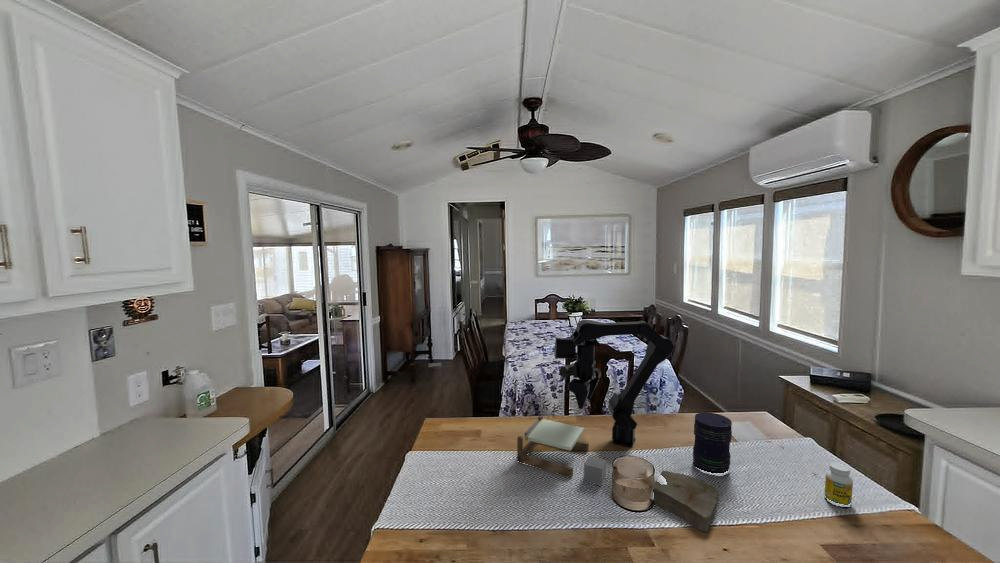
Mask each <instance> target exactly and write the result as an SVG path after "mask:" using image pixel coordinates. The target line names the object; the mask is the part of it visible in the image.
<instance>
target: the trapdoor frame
mask: <svg viewBox="0 0 1000 563" xmlns="http://www.w3.org/2000/svg"><path fill="white" fill-rule="evenodd" d="M542 419H544V418H543V416H542V415H538V417H537V420H539V421H541V420H542ZM523 440H524V439H523V436H522V435H518V436H517V442H516V443H517V444H516V445H517V446H516V447H517V451H516V452H517V454H516V455H517V456H516V457H517V460H516V461H519V462H521V463H525V464H528V465H531V466H534V467H533V468H535V467H538V468H537V469H539V468H541V469H540V470H542V469H544V470H543V471H546V470H547V471H546V472H549V471H551V472H550V473H553V472H554V473H553V474H556V473H558V474H557V475H560V474H561V476H563V475H564V477H567V476H569V477H568V478H571V477H572V478H573V476H574V467H573V466H569V465H565V464H563V463H558V462H554V461H550V460H547V459H543V458H539V457H536V456H532V455H530V454H531V453H532V452H533V450H535V448H536V447H538V445H539V444H540V443H537V442H533V441H528V443H527V444H526V445H525V446H524V445H523V444H524V443H523V442H524V441H523ZM523 446H524V447H523ZM589 446H590V445H589V442H587V441H582V440H579V439H578V441H577V442H576V444H575V445H574V447H573V448H572V449H574V450H578V451H583V452H585V453H587V452H589V450H590V448H589ZM531 451H532V452H531ZM530 452H531V453H530ZM528 453H530V454H529V455H527V454H528ZM521 463H520V464H521ZM528 465H527V466H528ZM531 466H530V467H531Z"/></svg>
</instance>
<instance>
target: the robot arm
mask: <svg viewBox="0 0 1000 563" xmlns="http://www.w3.org/2000/svg"><path fill="white" fill-rule="evenodd" d="M631 335H632V336H633V335H641V336H642V337H643V338H644V339H646V341H647V342H648V343H647V345H646V348H645V349H646V350H645V355H644V358H643V359H642V361H640V364H639V366H637V368H636V370H635V371H634V373H633V375H632V376H631V378H630V379H629V381H628V382H627V384H626V385H625V387H624V389H623V390H622V391H621V392H619V393H618V394H617V392H614V393H613V394H612V397H610V400H608V405H607V410H608V412H609V414H610V415H611V417H612V419H613V420H614V423H613V426H612V428H611V429H612V430H611V433H612V434H611V435H612V436H611V437H612V442H611V443H612V444H616V445H619V446H625V447H629V448H633V447H634V444H635V442H636V437H635V434H636V428H637V425H638V422H637V421H636V420H635V418H634V417H633V416H632V413H633V411H634V408H635V407H634V406H635V403H636V402H635V401H636V400H637V398H638V396H639V395H640V393H641V392H642V390H643V388H644V387H645V385H646V384H647V382H648V380H650V377H651V376H652V375H653V373H654V372H655V370H656V369H657V367H658V366H659V364H661V363H663V362H665V360H667V359H668V358H669V357H670V355H672V353H673V351H674V350H675V347H674V343H673V342H672V340H671V339H670V338H668V337H666V336H664V335H662V334H660V333H658V332H657V331H656V330H655V329H654V328H653V327H652V326H651V324H649V323H647V322H645V321H644V320H638V321H619V322H618V321H617V322H614V321H613V322H601V321H595V320H589V319H582V320H580V321H579V322H577V324H576V328H575V330H574V331H573V333H572V334H571V335H570V338H568V337H567V338H563V337H555V340H554V341H555V342H554V346H553V349H554V350H553V354H554V359H562V360H563V359H564V360H567V359H568V360H570V359H573V358H575V356H576V361H574V363H571V364H567V365H562V366H561V367H560V368H559V369H558V375H559V376H561V378H562V379H565V378H568V377H572V376H573V377H572V378H573V379H571V380H570V381H569V382H568V383H567V390H568V391H569V392H571V393H573V394H574V397H575V400H576V403H577V407H578V409H579V410H583V408H584V407H585V406H584V405H585V403H586V401H587V400H591V398H592V396H593V394H594V392H595V390H596V387H597V386H598V383H599V381H600V378H602V371H601V369H600V368H597V367H595V366H596V364H597V361H596V360H595V353H596V352H595V348H596V347H601V346H602V344H601V343H600V341H598V339H600V338H603V337H607V336H631Z"/></svg>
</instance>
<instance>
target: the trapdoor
mask: <svg viewBox="0 0 1000 563" xmlns="http://www.w3.org/2000/svg"><path fill="white" fill-rule="evenodd" d="M584 433H585V427H583V426H582V427H581V426H576V425H573V424H567V423H564V422H558V421H555V420H549V419H546V418H543V419H542V420H541V421H539V420H538V419H537V420H535V422H533V424H531V426H530V427H529V428H528V429H526V431H525V432H524V440H525V441H528V442H530V441H533V442H537V443H539V444H543V445H545V446H549V447H553V448H557V449H561V450H566V451H572V450H573V449H574V448H573V447H574V445H575V444H576V442H577V441H578V440H579V439H580V438H581V437H582V435H583V434H584Z"/></svg>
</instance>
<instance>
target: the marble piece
mask: <svg viewBox="0 0 1000 563" xmlns="http://www.w3.org/2000/svg"><path fill="white" fill-rule="evenodd" d="M660 475H662V476H663V477H664V478H665V479H666V482H667V485H661V484H660V483H659V482H657V480H656V481H655V482H654V484H653V485H652V487H653V492H654V502H653V503H654V504H655V505H657V506H658V507H660V508H661V509H663V510H664V511H667V512H668V513H670V514H671V513H672V514H671V515H673V514H674V516H675V517H677V516H678V517H677V518H679V517H680V518H679V519H680V520H682V519H683V520H684V522H685V523H686V524H687V525H689V526H691V527H692V528H695V529H697V530H699V531H701V532H703V533H708V532H709V529H710V526H711V524H712V520H713V518H714V514H715V510H716V508H717V507H716V506H717V504H718V498H719V496H720V495H719V494H720V490H719V489H718V488H717V487H715V486H714V485H712V484H709V483H707V482H705V481H704V480H701V479H698V478H696V477H692V476H690V475H687V474H684V473H680V472H673V471H667V470H662V471H661V473H660V474H659V476H660ZM716 503H717V504H716ZM712 517H713V518H712ZM683 520H682V521H683Z"/></svg>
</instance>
